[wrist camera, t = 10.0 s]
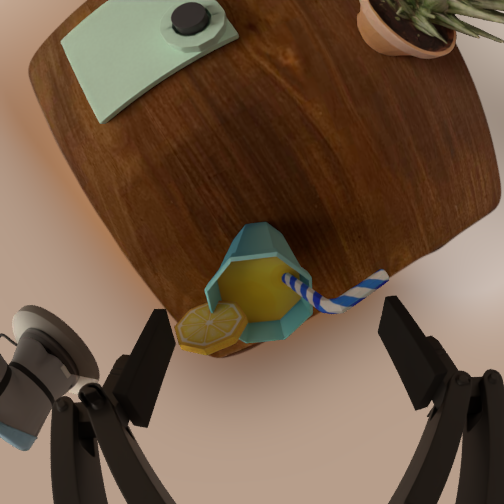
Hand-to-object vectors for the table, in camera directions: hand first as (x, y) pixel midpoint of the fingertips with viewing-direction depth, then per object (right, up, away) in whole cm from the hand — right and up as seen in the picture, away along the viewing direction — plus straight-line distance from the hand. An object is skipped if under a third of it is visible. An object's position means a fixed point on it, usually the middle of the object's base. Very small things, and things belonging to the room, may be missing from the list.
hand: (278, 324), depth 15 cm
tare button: (-7, +25, +2) cm, 26 cm away
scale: (-13, +27, +4) cm, 30 cm away
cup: (0, +5, +13) cm, 14 cm away
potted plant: (+12, +27, +3) cm, 30 cm away
